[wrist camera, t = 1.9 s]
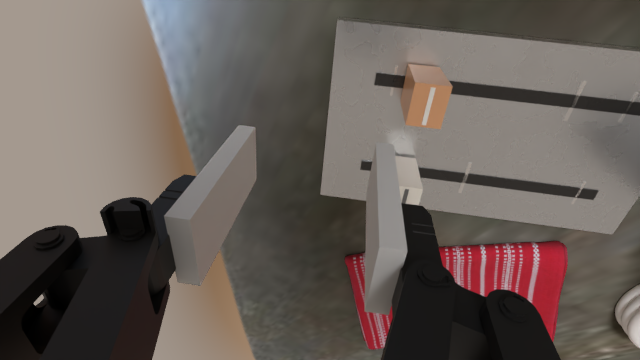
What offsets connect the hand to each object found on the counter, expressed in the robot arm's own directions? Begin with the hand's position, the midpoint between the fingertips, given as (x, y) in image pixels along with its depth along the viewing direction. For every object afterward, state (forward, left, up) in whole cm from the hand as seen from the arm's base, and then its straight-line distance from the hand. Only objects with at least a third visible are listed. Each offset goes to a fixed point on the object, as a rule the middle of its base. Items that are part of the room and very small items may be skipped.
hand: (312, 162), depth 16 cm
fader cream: (+8, +6, -14) cm, 18 cm away
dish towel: (+26, +17, -18) cm, 35 cm away
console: (+4, +14, -17) cm, 22 cm away
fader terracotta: (0, +7, -14) cm, 16 cm away
